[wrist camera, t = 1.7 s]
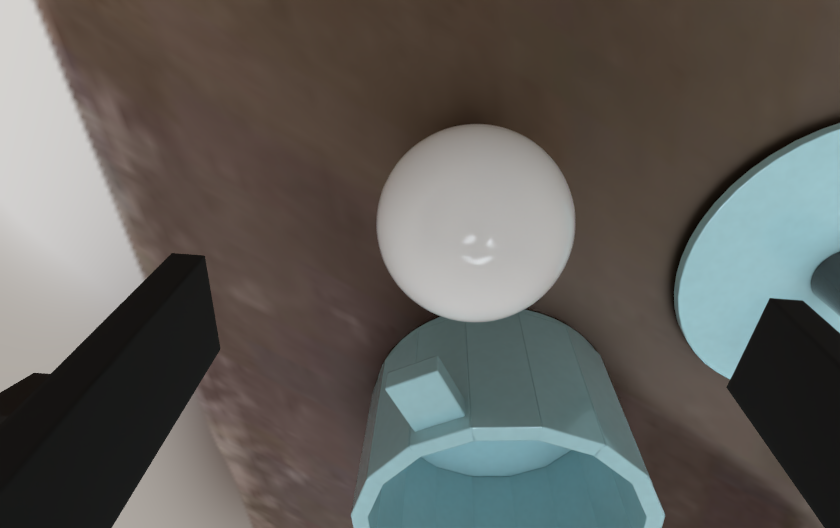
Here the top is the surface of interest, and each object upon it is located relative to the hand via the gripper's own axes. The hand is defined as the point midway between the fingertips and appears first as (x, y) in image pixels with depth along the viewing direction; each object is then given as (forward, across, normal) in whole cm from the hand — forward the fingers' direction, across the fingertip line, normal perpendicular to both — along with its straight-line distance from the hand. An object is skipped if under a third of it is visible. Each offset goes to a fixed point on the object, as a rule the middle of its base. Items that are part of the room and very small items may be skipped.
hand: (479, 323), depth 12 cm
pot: (+13, +3, -15) cm, 20 cm away
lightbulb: (+13, 0, 0) cm, 13 cm away
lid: (+12, +19, -4) cm, 23 cm away
